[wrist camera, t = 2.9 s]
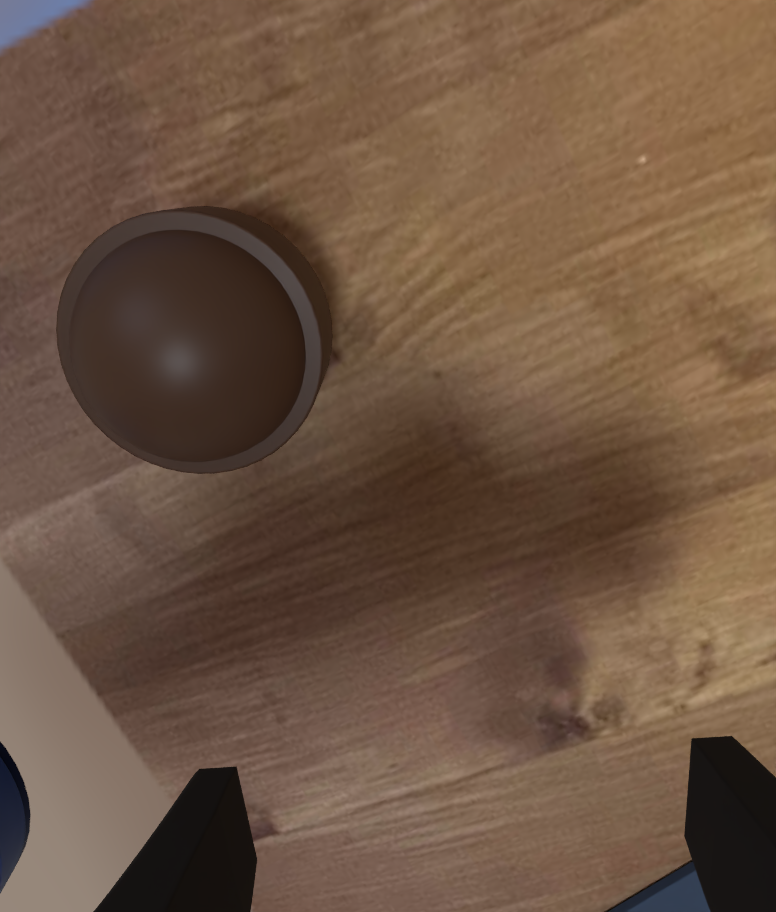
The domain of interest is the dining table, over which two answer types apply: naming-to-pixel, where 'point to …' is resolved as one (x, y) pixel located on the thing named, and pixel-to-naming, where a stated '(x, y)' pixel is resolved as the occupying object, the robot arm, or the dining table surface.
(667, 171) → the dining table surface
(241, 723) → the dining table surface
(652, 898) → the blue flat board
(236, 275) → the mushroom
